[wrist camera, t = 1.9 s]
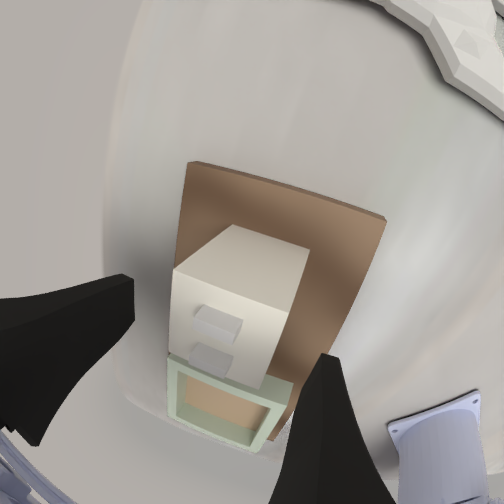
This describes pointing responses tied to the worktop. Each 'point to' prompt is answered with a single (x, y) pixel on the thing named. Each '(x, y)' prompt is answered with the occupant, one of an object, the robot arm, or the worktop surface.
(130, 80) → the worktop surface
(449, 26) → the gun
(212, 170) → the board
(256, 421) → the holder
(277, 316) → the plug
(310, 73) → the worktop surface
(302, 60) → the worktop surface
